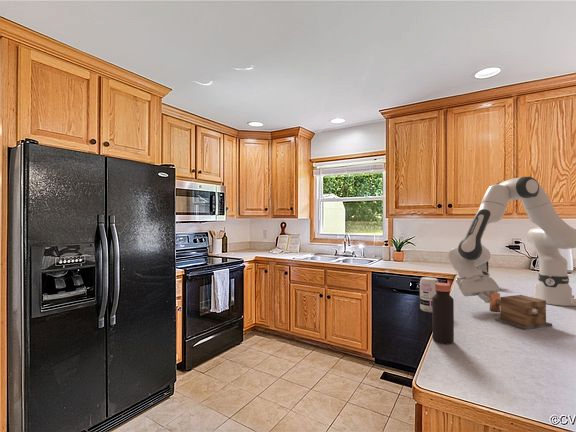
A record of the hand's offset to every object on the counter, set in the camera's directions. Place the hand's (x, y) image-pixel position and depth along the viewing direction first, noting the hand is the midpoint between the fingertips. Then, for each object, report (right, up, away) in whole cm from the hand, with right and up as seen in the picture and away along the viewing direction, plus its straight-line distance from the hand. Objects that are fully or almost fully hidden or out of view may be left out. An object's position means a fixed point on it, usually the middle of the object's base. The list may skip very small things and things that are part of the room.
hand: (489, 302), depth 144 cm
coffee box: (+32, -6, +58) cm, 67 cm away
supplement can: (-26, -5, +4) cm, 27 cm away
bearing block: (+5, -5, -14) cm, 16 cm away
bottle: (-38, -5, -33) cm, 51 cm away
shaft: (+3, -3, -10) cm, 11 cm away
